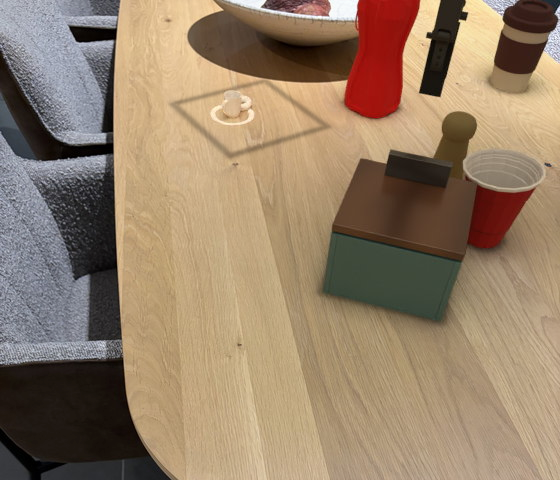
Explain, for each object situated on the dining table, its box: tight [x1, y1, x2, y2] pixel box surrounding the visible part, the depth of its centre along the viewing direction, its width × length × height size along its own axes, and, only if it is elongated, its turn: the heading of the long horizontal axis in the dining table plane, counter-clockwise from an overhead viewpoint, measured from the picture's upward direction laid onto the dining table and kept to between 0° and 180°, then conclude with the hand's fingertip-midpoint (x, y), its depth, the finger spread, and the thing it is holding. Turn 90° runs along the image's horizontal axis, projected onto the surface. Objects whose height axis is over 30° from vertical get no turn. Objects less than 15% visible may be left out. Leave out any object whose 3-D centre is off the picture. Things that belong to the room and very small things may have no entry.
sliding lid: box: [331, 149, 477, 262], centre depth 74 cm, size 16×16×4 cm
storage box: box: [322, 230, 463, 323], centre depth 79 cm, size 16×16×10 cm
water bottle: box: [344, 0, 421, 119], centre depth 104 cm, size 9×11×25 cm
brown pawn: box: [432, 110, 478, 180], centre depth 94 cm, size 6×6×11 cm
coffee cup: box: [489, 0, 559, 94], centre depth 117 cm, size 10×10×15 cm
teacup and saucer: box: [209, 90, 256, 127], centre depth 107 cm, size 9×8×4 cm
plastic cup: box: [463, 147, 547, 250], centre depth 85 cm, size 11×11×12 cm
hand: (433, 84), depth 77 cm, fingers open, 5 cm apart
